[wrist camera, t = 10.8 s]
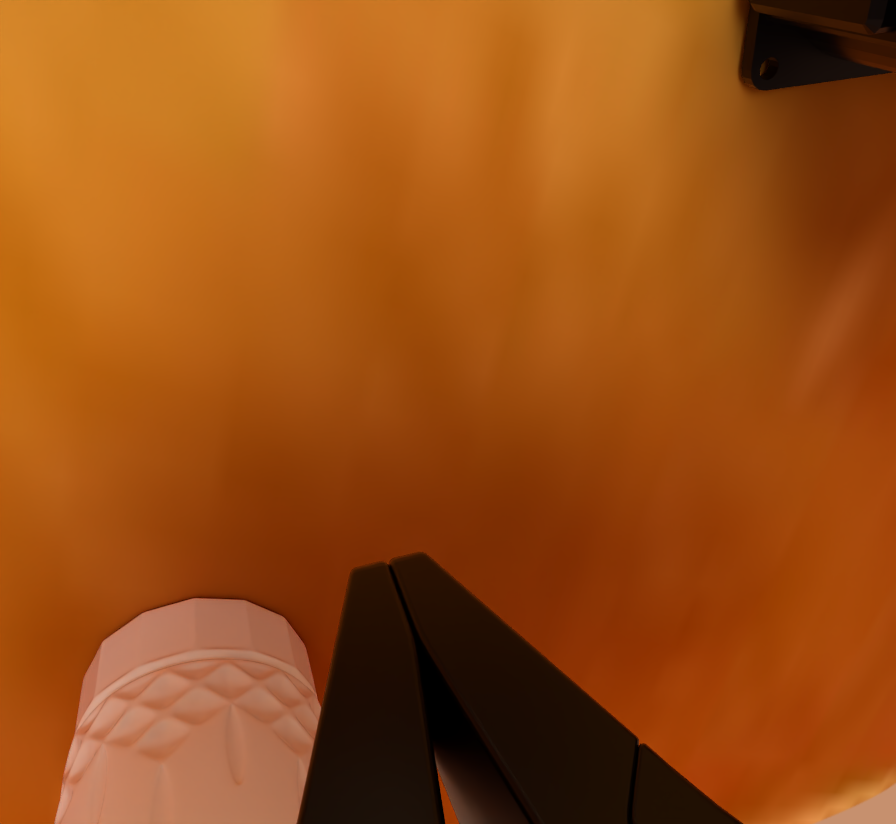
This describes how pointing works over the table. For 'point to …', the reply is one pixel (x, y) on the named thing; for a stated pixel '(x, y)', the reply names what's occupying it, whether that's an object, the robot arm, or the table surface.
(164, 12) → the table surface
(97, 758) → the white cup
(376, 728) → the robot arm
